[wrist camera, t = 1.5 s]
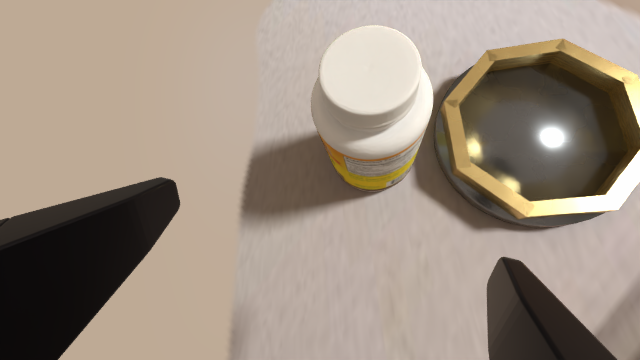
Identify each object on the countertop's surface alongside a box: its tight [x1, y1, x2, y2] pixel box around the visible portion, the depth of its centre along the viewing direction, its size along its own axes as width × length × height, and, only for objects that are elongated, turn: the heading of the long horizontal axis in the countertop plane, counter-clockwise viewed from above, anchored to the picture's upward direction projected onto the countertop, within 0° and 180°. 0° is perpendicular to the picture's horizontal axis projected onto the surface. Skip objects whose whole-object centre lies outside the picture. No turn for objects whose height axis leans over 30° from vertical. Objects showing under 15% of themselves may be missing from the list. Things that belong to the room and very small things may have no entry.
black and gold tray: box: [434, 39, 640, 227], centre depth 19 cm, size 12×12×2 cm
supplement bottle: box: [311, 25, 433, 192], centre depth 17 cm, size 6×6×10 cm
